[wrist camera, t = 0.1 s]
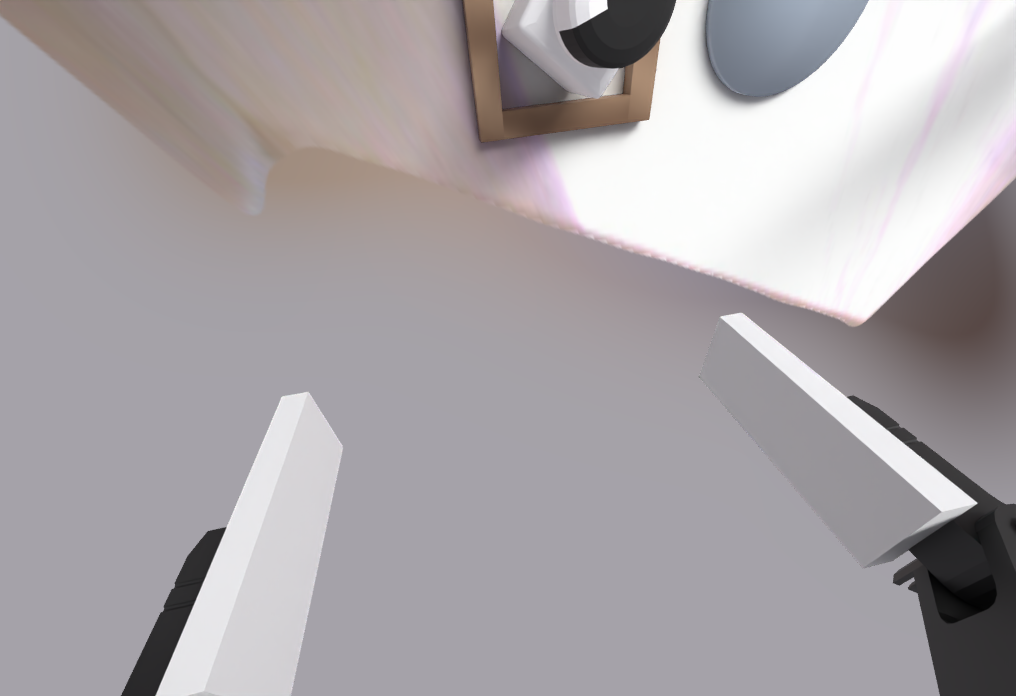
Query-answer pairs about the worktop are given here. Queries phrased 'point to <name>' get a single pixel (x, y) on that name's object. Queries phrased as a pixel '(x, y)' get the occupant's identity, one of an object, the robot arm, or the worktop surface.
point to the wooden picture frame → (552, 115)
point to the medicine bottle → (586, 37)
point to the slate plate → (775, 40)
